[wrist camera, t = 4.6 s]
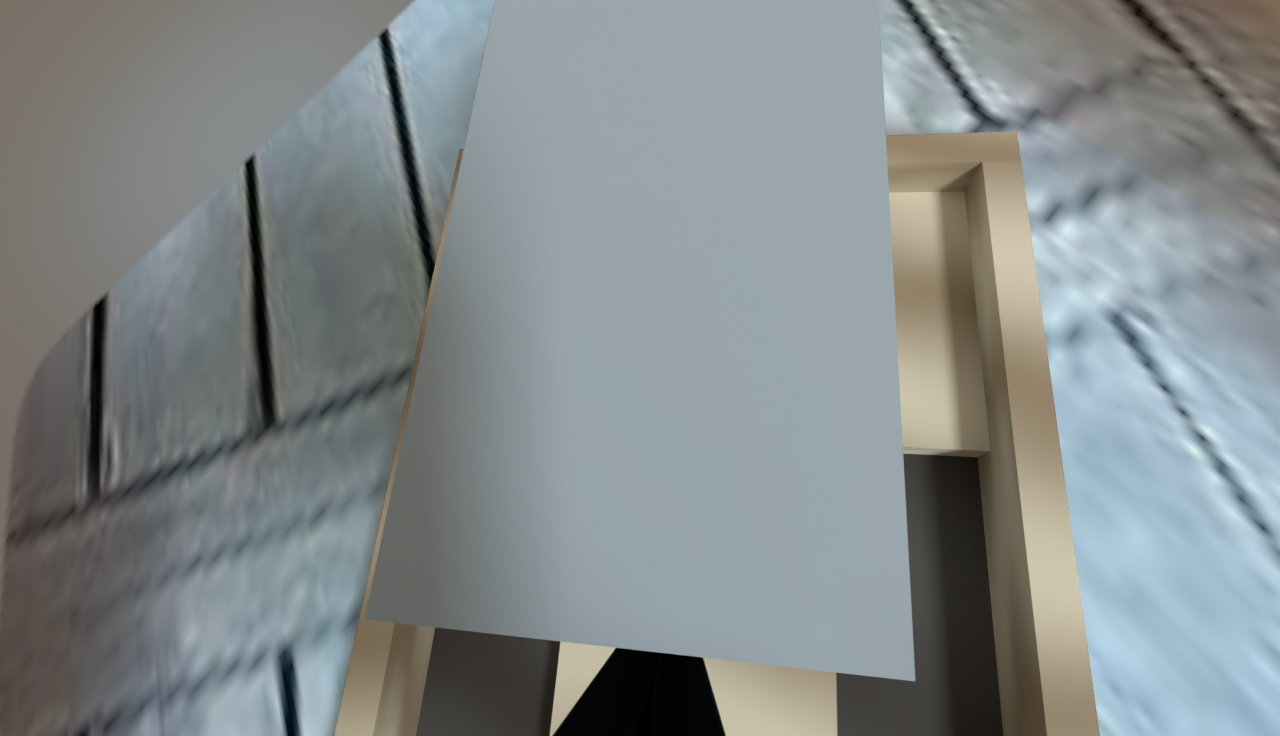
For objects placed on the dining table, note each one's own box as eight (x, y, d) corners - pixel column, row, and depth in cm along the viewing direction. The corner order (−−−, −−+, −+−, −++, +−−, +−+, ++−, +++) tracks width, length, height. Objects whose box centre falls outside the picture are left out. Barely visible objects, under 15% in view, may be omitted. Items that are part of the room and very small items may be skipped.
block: (793, 608, 15) (915, 680, 5) (601, 590, 16) (364, 619, 6) (794, 259, 18) (870, -143, 8) (634, 258, 19) (517, -106, 9)
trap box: (1157, 1717, 10) (1280, 2052, 8) (257, 1390, 13) (156, 1565, 11) (984, 183, 19) (1016, 131, 17) (487, 192, 22) (459, 149, 20)
